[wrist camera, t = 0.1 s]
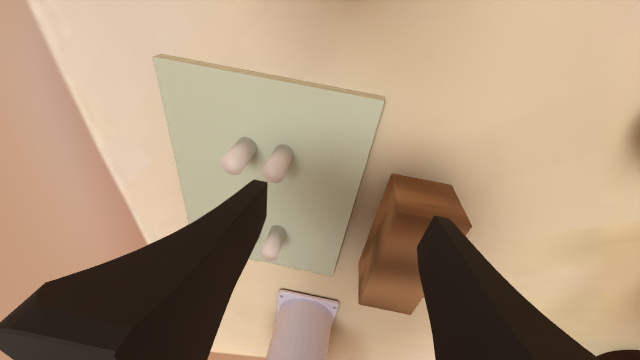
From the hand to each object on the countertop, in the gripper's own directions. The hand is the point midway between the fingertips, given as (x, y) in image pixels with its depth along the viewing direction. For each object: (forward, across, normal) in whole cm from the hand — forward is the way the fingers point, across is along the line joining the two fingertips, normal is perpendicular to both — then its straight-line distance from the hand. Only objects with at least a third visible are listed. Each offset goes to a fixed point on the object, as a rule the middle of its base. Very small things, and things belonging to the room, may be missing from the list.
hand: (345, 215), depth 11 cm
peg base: (+10, +6, +7) cm, 14 cm away
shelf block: (+10, -7, +9) cm, 15 cm away
